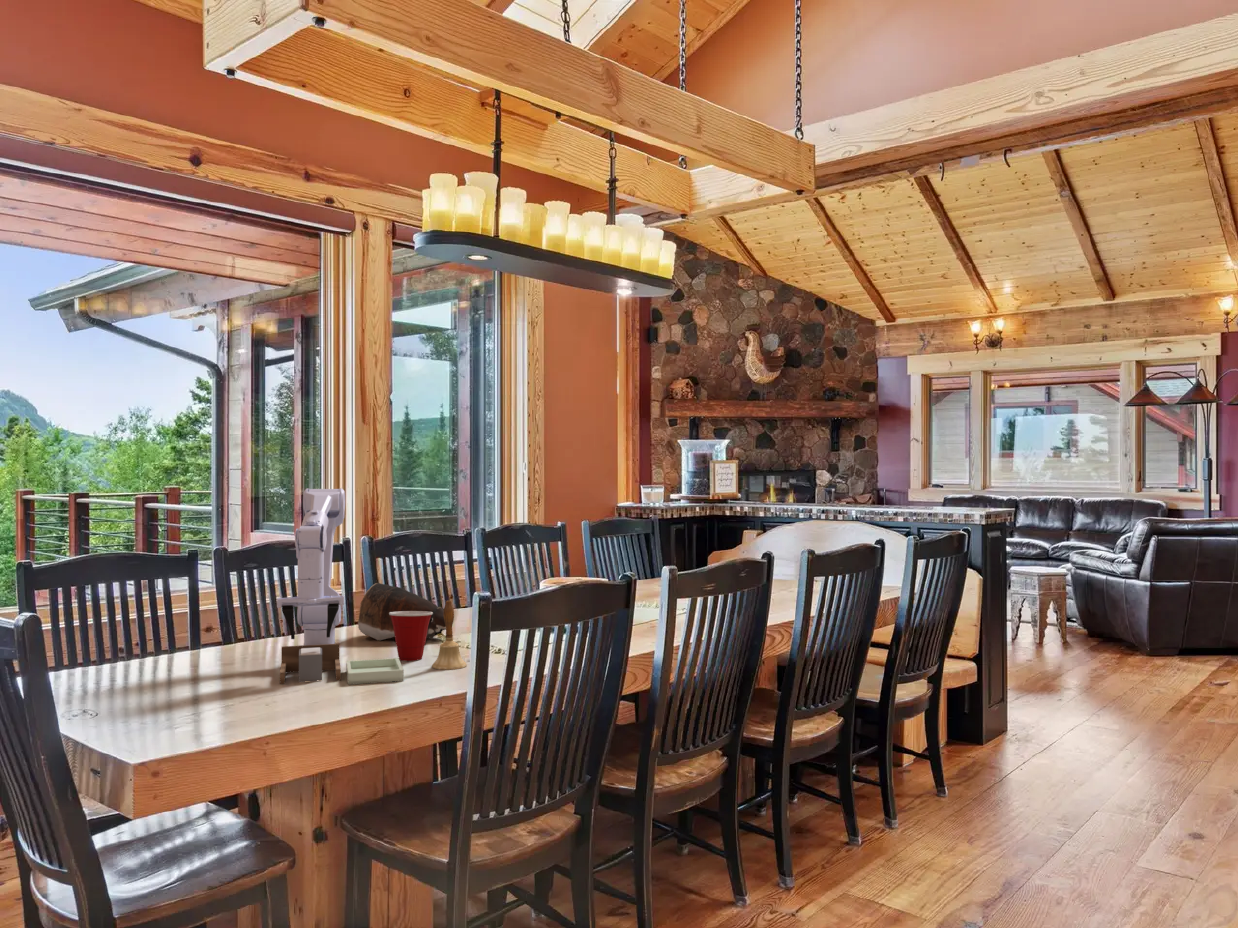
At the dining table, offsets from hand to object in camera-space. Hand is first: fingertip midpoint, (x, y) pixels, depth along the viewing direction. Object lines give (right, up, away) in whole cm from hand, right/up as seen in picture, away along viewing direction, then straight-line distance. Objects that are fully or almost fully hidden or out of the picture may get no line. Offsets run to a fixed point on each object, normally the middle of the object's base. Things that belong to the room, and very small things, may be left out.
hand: (310, 637), depth 218 cm
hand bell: (+30, -10, +13) cm, 33 cm away
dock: (0, -9, +1) cm, 9 cm away
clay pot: (+12, -10, +49) cm, 51 cm away
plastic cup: (+18, -9, +22) cm, 30 cm away
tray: (+14, -9, +1) cm, 17 cm away
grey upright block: (0, -9, 0) cm, 9 cm away
